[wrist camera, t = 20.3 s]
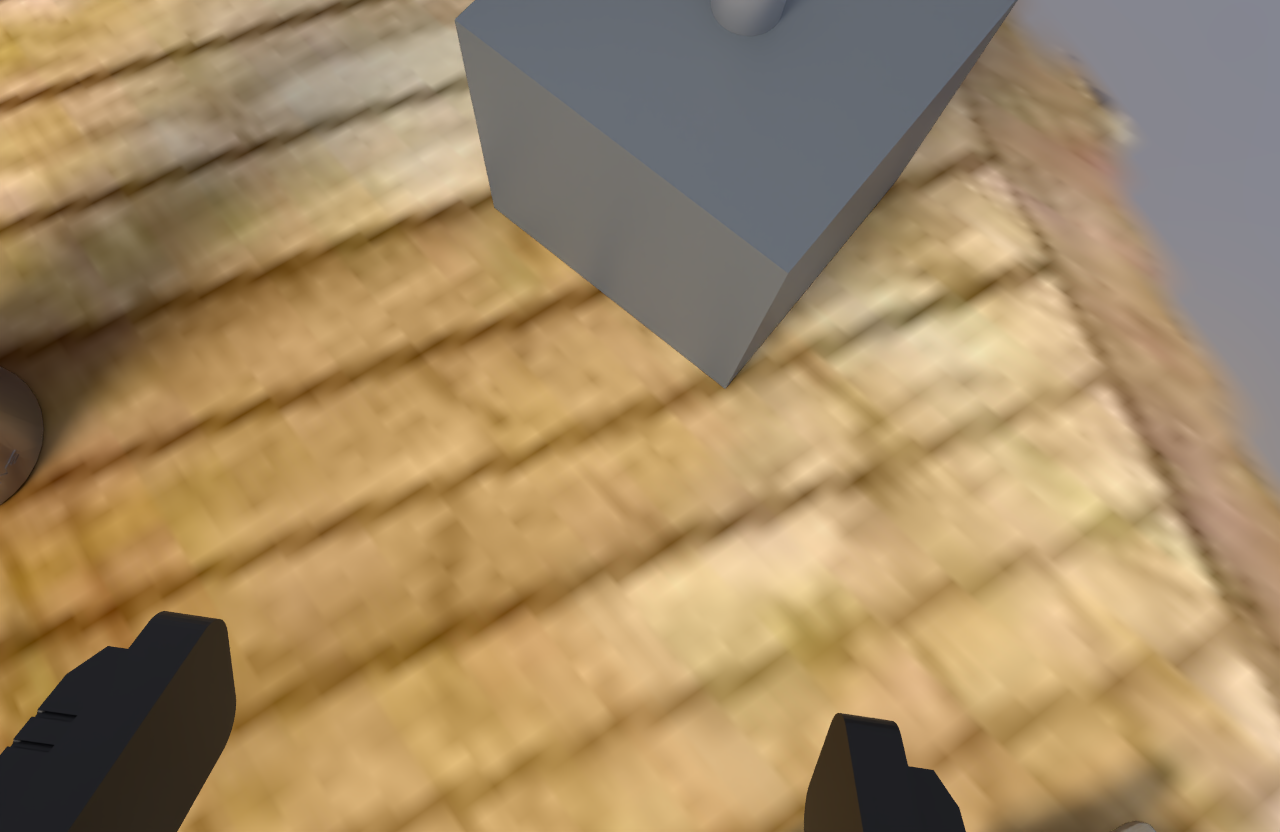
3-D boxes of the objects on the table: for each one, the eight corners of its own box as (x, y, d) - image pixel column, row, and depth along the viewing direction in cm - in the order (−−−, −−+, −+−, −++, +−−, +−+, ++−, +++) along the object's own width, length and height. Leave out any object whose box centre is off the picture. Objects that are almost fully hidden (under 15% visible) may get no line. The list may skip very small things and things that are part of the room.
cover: (494, 207, 56) (421, -136, 31) (676, 17, 60) (738, -419, 35) (725, 388, 54) (841, 175, 29) (897, 179, 58) (1126, -163, 33)
